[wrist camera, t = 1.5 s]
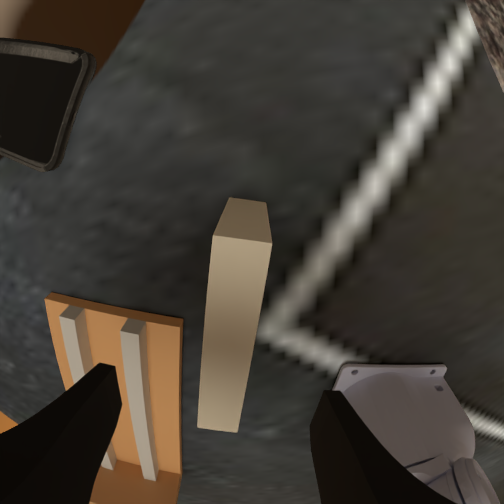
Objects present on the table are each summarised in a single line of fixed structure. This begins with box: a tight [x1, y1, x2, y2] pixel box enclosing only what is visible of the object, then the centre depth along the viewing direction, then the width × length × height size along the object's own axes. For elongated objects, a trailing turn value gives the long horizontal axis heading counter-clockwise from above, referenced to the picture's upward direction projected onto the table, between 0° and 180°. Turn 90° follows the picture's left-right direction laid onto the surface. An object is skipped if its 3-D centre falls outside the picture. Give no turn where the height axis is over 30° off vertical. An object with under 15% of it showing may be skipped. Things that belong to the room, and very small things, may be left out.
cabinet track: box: [45, 292, 183, 504], centre depth 20 cm, size 10×20×7 cm, turn 172°
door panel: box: [197, 197, 272, 433], centre depth 16 cm, size 2×10×7 cm, turn 172°
